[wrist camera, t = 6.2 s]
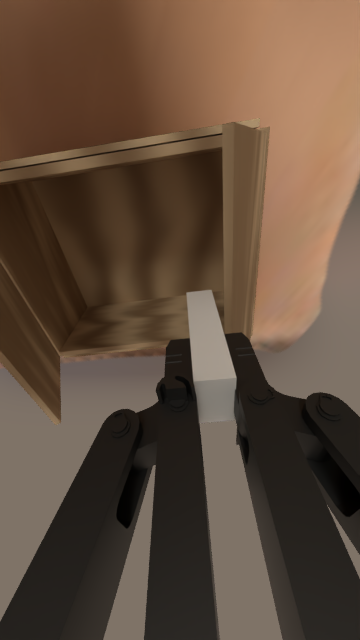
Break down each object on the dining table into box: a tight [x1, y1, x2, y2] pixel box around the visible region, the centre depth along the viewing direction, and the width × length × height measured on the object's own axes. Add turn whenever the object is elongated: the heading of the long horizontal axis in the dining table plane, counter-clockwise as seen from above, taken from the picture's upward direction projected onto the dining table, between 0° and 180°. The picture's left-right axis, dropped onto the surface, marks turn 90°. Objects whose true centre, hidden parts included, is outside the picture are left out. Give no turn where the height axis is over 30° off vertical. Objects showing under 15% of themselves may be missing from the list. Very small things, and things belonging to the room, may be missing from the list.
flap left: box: [0, 262, 61, 425], centre depth 16 cm, size 1×16×9 cm, turn 8°
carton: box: [0, 118, 270, 358], centre depth 23 cm, size 22×18×10 cm
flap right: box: [222, 122, 267, 341], centre depth 15 cm, size 1×16×9 cm, turn 7°
